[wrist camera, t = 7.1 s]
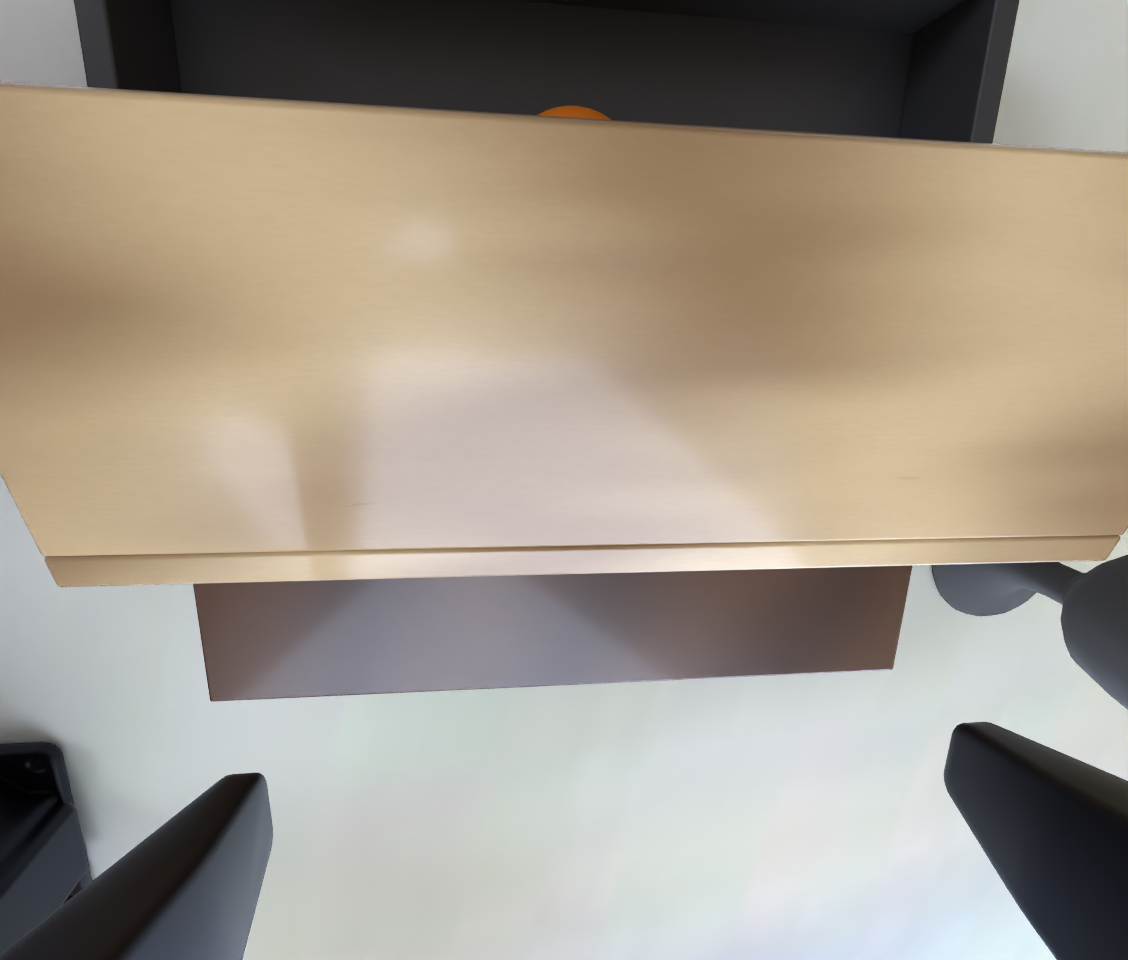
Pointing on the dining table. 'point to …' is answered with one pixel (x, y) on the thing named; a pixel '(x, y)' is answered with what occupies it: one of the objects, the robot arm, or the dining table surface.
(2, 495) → the dining table surface
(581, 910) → the dining table surface
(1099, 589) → the sundae
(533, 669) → the stand
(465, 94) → the dark grey tray
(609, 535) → the wooden box
